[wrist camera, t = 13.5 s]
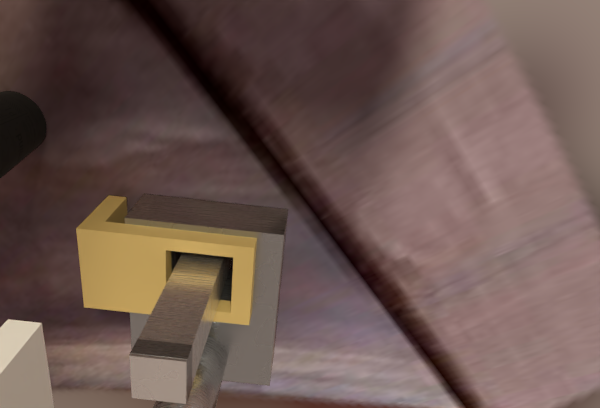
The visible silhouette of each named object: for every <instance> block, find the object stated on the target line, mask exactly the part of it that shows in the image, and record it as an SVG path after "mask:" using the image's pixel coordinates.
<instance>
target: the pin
mask: <svg viewBox="0 0 600 408" xmlns="http://www.w3.org/2000/svg"><path fill="white" fill-rule="evenodd" d="M231 264H232V257H224V256H214V255H205V254H196V253H187V252H182V254H181V256H180V258H179V260H178V262H177V264H176V266H175V268H174V270H173V272H172V274H171V276H170V278H169V280H168V281H167V283H166V285H165V287H164V289H163V291H162V293H161V295H160V297H159V299H158V301H157V303H156V305H155V307H154V309H153V311H152V313H151V315H150V316H149V318H148V320H147V322H146V324H145V326H144V328H143V330H142V332H141V334H140V336H139V338H138V339H137V341H136V343H135V345H134V347H133V349H132V351H131V352H130V355H129V358H130V375H131V392H132V398H137V399H145V400H155V401H164V402H173V403H182V404H186V403H187V401H188V398H189V395H190V392H191V388H192V384H193V381H194V378H195V375H196V372H197V369H198V366H199V363H200V359H201V356H202V353H203V350H204V347H205V344H206V341H207V338H208V335H209V332H210V329H211V325H212V322H213V319H214V316H215V313H216V310H217V307H218V304H219V301H220V298H221V295H222V292H223V288H224V285H225V282H226V279H227V276H228V273H229V270H230V267H231Z"/></svg>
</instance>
